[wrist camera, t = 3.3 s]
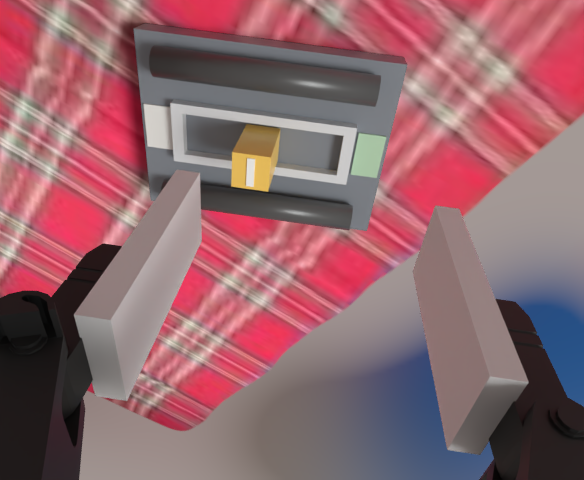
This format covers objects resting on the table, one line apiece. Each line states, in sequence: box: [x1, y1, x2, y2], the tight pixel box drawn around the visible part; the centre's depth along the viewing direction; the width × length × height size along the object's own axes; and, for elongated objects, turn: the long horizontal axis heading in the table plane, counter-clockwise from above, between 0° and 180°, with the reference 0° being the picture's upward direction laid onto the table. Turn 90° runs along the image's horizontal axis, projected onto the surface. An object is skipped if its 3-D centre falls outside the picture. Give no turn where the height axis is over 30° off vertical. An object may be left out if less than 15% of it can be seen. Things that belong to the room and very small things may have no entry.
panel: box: [134, 23, 407, 231], centre depth 40 cm, size 22×16×5 cm
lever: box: [231, 124, 281, 192], centre depth 37 cm, size 3×3×6 cm
